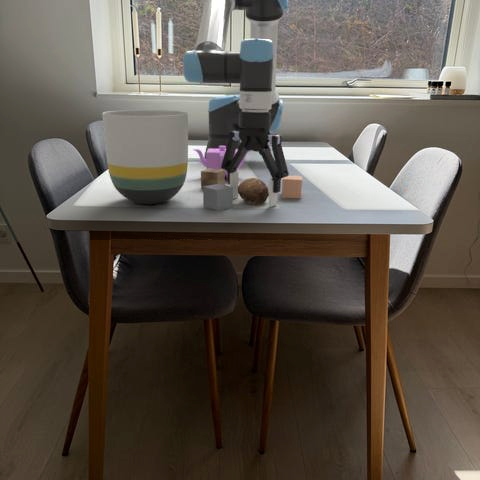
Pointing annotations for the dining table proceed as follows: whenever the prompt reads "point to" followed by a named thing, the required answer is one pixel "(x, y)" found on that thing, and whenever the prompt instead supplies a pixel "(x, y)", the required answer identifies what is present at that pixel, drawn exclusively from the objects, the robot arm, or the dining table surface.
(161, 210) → the dining table surface
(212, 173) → the walnut cube
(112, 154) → the planter
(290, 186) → the terracotta cube
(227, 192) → the slate cube
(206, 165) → the teapot
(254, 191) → the mushroom
